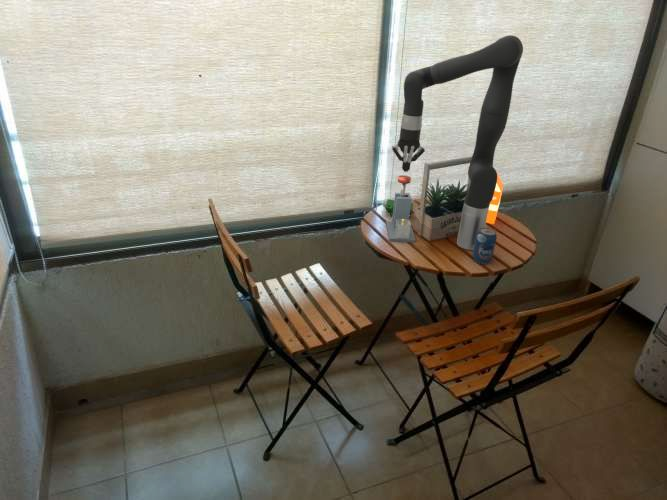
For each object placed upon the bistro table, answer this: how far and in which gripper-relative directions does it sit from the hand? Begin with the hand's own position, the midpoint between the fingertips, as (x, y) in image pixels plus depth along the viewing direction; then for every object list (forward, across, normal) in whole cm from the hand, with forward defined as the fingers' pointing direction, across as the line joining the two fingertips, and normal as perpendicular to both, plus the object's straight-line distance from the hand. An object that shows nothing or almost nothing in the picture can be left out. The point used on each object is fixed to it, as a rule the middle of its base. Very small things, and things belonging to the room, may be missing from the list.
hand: (405, 171), depth 197 cm
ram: (+16, 0, 0) cm, 16 cm away
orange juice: (+24, -40, -13) cm, 49 cm away
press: (+24, 0, +5) cm, 25 cm away
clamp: (+25, -1, -12) cm, 27 cm away
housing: (+23, 0, +10) cm, 25 cm away
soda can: (+24, -28, +25) cm, 45 cm away
